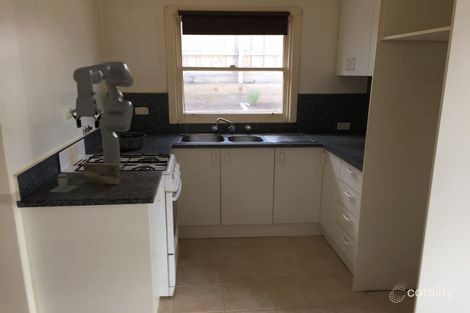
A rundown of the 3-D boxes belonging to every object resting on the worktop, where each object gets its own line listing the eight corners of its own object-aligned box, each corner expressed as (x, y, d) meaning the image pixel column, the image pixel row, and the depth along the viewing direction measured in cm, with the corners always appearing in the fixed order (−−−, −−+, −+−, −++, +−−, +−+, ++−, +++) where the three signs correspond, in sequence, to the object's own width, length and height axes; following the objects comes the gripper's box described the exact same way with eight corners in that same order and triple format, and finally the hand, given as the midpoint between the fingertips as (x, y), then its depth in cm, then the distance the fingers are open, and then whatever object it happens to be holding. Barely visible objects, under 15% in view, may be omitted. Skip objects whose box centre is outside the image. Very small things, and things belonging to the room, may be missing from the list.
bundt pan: (141, 151, 267) (141, 138, 265) (106, 151, 267) (105, 137, 265) (150, 144, 292) (150, 132, 290) (118, 144, 293) (117, 132, 291)
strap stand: (87, 181, 192) (86, 162, 190) (120, 182, 190) (118, 164, 188) (84, 182, 190) (83, 164, 187) (117, 184, 187) (116, 165, 185)
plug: (62, 187, 180) (60, 173, 178) (69, 187, 179) (68, 173, 178) (57, 189, 176) (55, 175, 175) (65, 189, 176) (63, 176, 174)
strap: (110, 170, 186) (110, 168, 186) (114, 170, 186) (114, 168, 185) (99, 175, 175) (99, 173, 175) (104, 176, 175) (104, 174, 175)
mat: (60, 186, 183) (60, 185, 183) (77, 187, 182) (77, 186, 182) (49, 192, 174) (49, 190, 174) (67, 193, 173) (67, 191, 173)
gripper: (105, 94, 186) (107, 127, 190) (73, 93, 188) (76, 126, 192) (98, 94, 179) (100, 129, 183) (65, 94, 181) (68, 128, 185)
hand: (88, 127), depth 187 cm, fingers open, 9 cm apart
